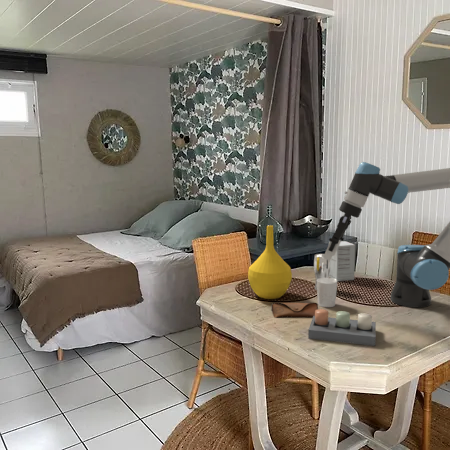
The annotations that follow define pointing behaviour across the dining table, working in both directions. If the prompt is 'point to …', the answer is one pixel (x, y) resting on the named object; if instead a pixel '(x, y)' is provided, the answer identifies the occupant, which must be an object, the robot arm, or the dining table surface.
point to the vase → (269, 272)
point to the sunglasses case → (294, 309)
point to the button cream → (364, 321)
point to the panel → (342, 332)
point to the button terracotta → (321, 317)
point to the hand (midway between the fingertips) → (328, 256)
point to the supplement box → (343, 262)
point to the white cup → (326, 291)
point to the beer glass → (321, 267)
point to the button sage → (343, 319)
